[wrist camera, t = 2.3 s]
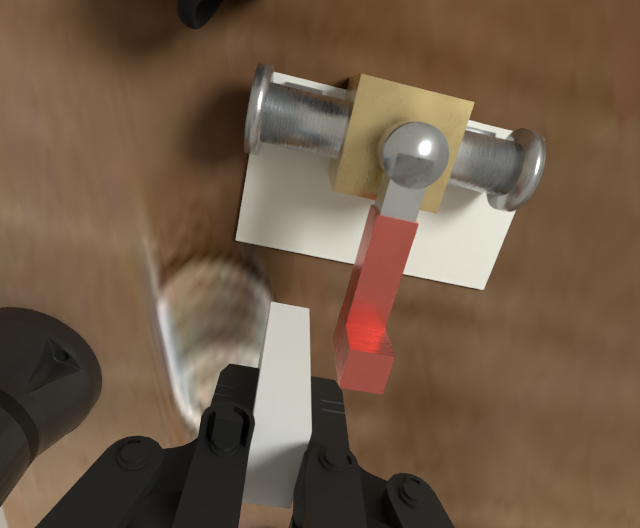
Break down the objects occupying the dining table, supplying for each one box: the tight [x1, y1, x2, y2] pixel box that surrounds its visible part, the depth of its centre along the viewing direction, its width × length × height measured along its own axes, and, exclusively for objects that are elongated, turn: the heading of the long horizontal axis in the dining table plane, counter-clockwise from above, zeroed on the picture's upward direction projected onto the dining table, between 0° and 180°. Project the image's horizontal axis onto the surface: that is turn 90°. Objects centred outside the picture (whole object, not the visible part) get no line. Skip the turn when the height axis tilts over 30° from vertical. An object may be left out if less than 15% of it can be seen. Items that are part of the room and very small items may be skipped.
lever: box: [333, 120, 449, 395], centre depth 28 cm, size 17×4×6 cm, turn 167°
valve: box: [244, 63, 546, 214], centre depth 33 cm, size 22×8×10 cm, turn 77°
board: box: [236, 72, 516, 290], centre depth 39 cm, size 25×15×1 cm, turn 77°
